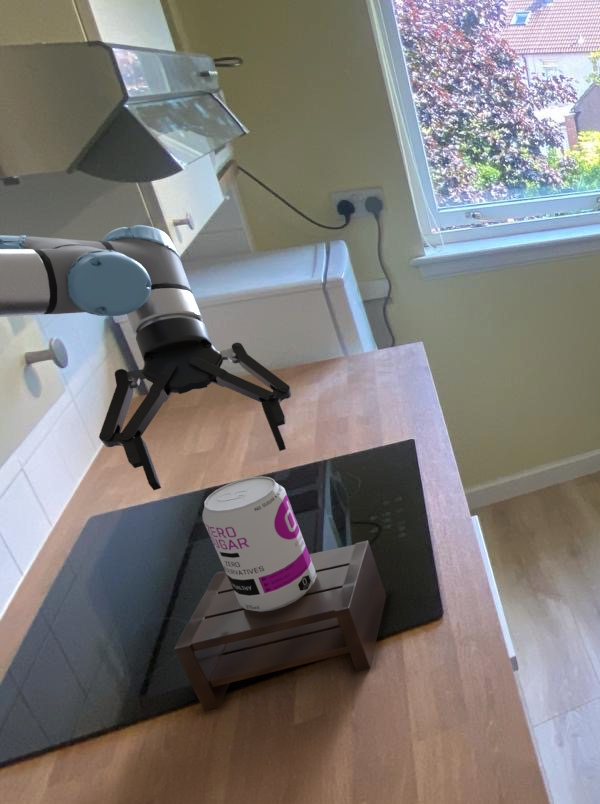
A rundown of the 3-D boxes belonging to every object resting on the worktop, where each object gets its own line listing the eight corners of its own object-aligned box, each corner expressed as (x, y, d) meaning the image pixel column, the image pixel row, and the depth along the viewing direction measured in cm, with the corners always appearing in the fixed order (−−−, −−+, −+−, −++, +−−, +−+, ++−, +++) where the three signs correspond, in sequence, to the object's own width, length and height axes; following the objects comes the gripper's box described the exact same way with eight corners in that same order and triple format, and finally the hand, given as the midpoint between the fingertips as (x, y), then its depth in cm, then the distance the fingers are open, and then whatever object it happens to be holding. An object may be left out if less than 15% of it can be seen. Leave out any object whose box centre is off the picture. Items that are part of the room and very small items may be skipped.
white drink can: (324, 563, 97) (289, 468, 91) (308, 605, 90) (269, 505, 84) (254, 578, 95) (213, 481, 89) (231, 622, 88) (185, 520, 82)
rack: (204, 711, 88) (173, 649, 84) (241, 630, 100) (215, 572, 96) (370, 668, 94) (348, 608, 90) (386, 596, 106) (368, 540, 102)
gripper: (279, 319, 111) (330, 441, 106) (56, 368, 96) (104, 513, 91) (274, 294, 105) (327, 422, 101) (35, 342, 90) (86, 495, 86)
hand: (221, 466), depth 96 cm, fingers open, 13 cm apart
